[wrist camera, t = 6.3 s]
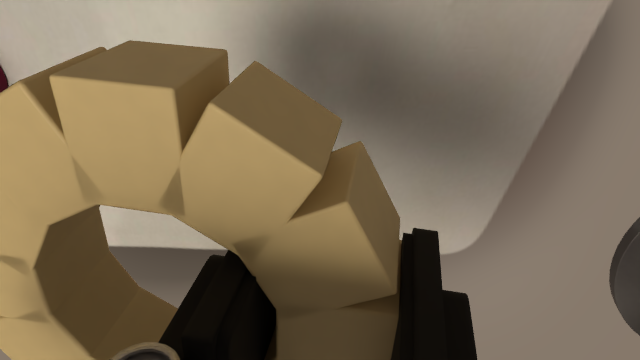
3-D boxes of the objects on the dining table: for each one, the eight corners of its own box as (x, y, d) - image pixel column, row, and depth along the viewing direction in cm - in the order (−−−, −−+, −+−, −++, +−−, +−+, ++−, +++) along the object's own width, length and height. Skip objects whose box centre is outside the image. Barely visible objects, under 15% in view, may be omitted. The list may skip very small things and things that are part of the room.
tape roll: (434, 68, 8) (440, 117, 6) (375, 401, 13) (368, 487, 11) (-45, 23, 10) (-168, 52, 8) (67, 342, 15) (11, 411, 13)
